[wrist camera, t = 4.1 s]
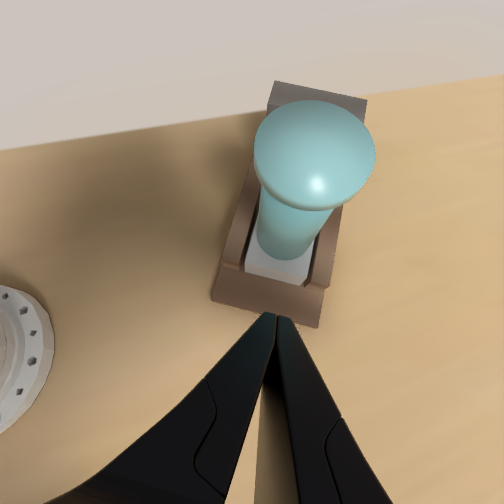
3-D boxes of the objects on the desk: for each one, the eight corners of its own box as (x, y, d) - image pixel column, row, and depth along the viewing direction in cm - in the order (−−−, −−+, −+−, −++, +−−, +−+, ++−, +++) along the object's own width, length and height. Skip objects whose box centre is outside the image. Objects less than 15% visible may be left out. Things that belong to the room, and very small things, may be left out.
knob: (302, 286, 19) (366, 221, 9) (242, 271, 19) (238, 191, 9) (314, 224, 21) (382, 107, 10) (258, 210, 21) (271, 84, 11)
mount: (315, 328, 19) (350, 321, 13) (211, 300, 19) (195, 280, 13) (343, 167, 23) (379, 102, 17) (258, 147, 24) (262, 77, 17)
